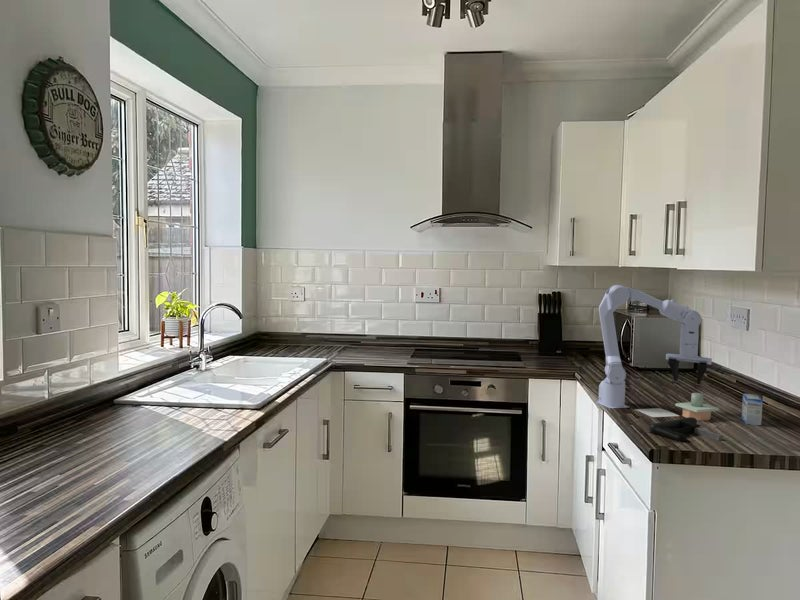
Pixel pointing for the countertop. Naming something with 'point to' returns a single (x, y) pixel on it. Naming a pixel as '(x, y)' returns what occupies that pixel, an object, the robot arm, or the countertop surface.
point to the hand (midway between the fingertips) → (687, 382)
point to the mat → (656, 412)
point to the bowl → (697, 414)
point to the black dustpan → (682, 429)
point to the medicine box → (752, 409)
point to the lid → (697, 404)
